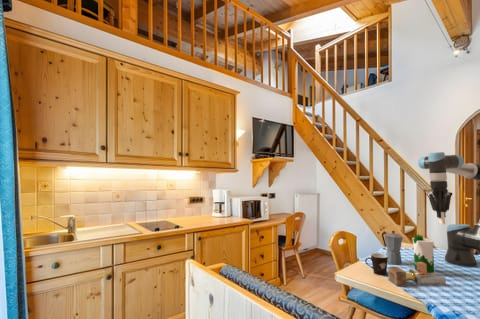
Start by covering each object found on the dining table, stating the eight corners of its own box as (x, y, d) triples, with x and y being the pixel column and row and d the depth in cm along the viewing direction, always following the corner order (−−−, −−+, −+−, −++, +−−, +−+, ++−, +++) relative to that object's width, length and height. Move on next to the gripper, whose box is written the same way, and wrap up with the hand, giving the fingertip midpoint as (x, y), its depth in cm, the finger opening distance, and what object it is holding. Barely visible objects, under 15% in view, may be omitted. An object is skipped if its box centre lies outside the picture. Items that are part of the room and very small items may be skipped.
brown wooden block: (398, 279, 144) (397, 266, 144) (406, 285, 137) (405, 271, 137) (388, 280, 144) (388, 266, 144) (396, 286, 137) (396, 271, 137)
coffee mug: (388, 271, 156) (387, 253, 156) (389, 277, 148) (388, 258, 148) (365, 268, 161) (365, 251, 161) (365, 274, 153) (364, 256, 153)
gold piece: (422, 278, 142) (422, 261, 143) (427, 281, 139) (426, 264, 139) (392, 279, 142) (391, 262, 143) (396, 282, 139) (395, 264, 139)
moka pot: (399, 267, 161) (397, 233, 162) (376, 260, 176) (375, 228, 176) (409, 265, 165) (408, 231, 166) (387, 257, 179) (385, 227, 180)
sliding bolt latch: (436, 279, 144) (435, 267, 144) (445, 284, 137) (445, 272, 137) (409, 279, 144) (409, 268, 144) (418, 285, 137) (417, 273, 137)
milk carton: (412, 268, 160) (410, 234, 160) (429, 269, 158) (427, 234, 159) (419, 274, 151) (417, 237, 152) (437, 275, 149) (435, 238, 150)
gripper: (444, 179, 153) (448, 221, 152) (422, 180, 153) (425, 223, 152) (455, 180, 146) (459, 224, 145) (431, 181, 145) (435, 226, 144)
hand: (441, 223), depth 148 cm, fingers closed
